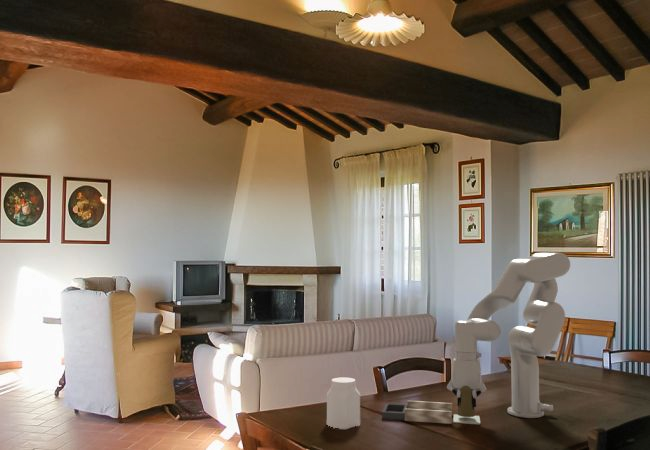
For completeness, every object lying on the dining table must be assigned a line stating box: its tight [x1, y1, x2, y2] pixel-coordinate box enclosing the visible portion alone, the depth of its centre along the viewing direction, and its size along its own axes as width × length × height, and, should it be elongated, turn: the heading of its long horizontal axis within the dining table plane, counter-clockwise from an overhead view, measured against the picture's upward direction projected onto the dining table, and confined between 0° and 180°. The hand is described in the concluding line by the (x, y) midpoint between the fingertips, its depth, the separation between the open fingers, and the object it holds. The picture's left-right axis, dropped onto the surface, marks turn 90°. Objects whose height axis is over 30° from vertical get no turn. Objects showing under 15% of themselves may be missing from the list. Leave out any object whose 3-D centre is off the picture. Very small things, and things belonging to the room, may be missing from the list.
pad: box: [452, 413, 481, 425], centre depth 204 cm, size 9×9×1 cm
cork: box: [457, 386, 476, 417], centre depth 205 cm, size 6×6×11 cm
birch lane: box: [404, 400, 453, 425], centre depth 207 cm, size 16×12×4 cm
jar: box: [326, 376, 361, 430], centre depth 199 cm, size 12×10×15 cm
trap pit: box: [381, 403, 408, 422], centre depth 210 cm, size 8×12×2 cm, turn 167°
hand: (466, 408), depth 204 cm, fingers closed on cork, 3 cm apart
